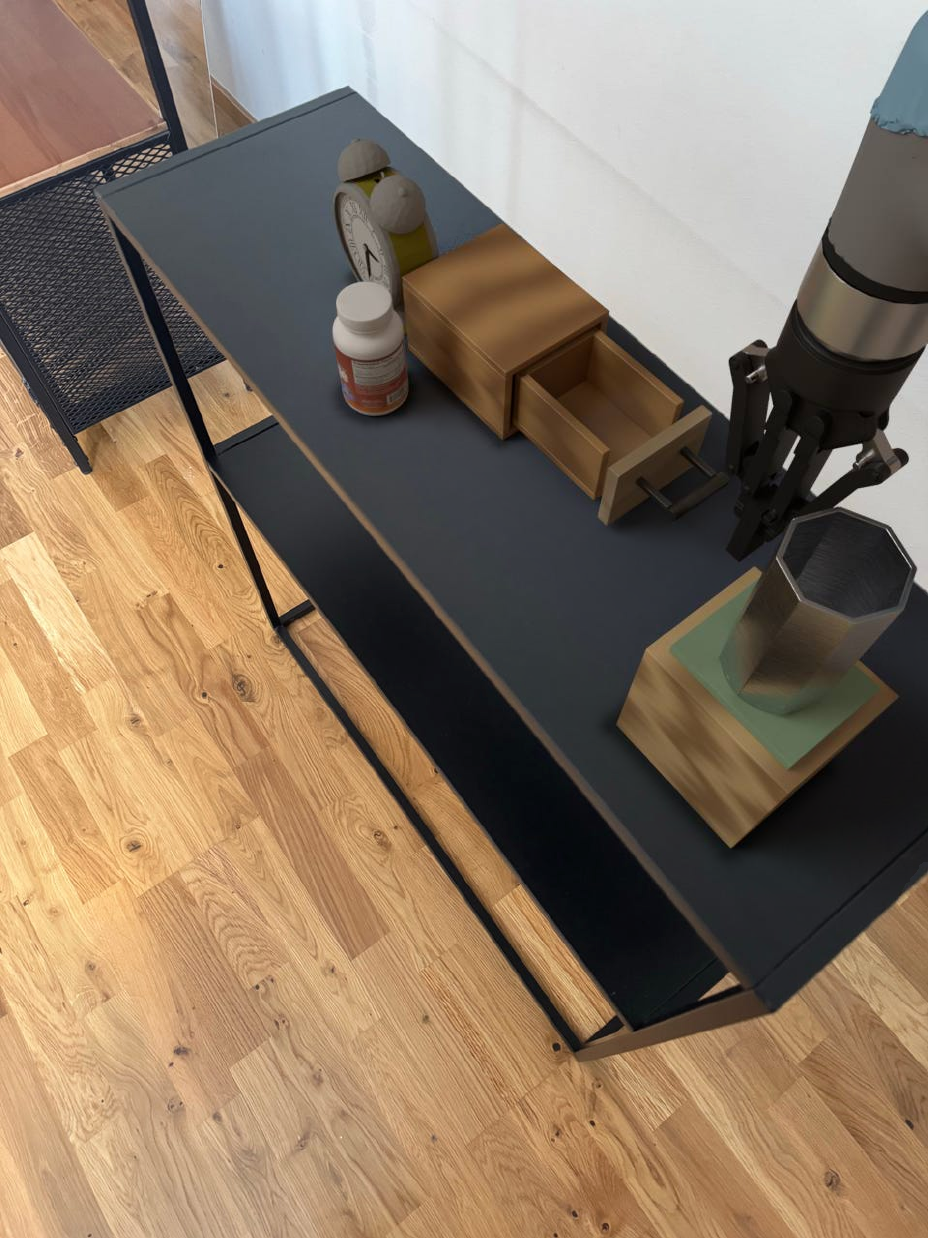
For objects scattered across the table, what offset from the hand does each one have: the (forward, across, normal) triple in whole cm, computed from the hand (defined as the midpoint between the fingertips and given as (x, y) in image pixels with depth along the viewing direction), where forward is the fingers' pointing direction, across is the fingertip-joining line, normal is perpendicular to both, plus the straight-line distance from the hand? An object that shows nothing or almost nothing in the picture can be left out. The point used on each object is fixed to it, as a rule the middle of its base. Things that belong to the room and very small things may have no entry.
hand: (744, 547), depth 70 cm
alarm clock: (+5, +44, +2) cm, 44 cm away
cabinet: (+5, +30, 0) cm, 30 cm away
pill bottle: (+5, +35, +12) cm, 37 cm away
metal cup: (-10, -10, +12) cm, 18 cm away
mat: (-9, -10, +12) cm, 17 cm away
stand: (+4, -10, +12) cm, 16 cm away
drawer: (+4, +14, 0) cm, 14 cm away
